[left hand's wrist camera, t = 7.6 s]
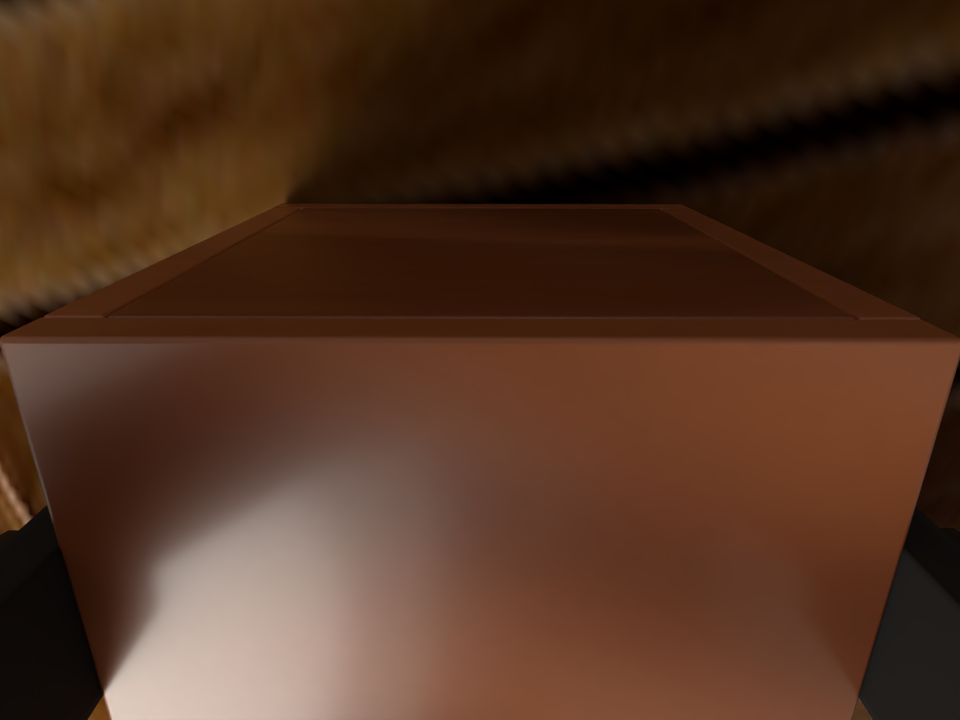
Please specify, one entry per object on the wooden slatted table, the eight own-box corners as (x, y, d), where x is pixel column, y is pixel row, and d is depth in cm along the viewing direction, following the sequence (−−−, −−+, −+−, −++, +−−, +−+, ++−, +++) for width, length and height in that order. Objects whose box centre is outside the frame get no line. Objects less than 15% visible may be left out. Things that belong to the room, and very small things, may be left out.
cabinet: (625, 701, 25) (729, 1135, 14) (336, 700, 25) (228, 1133, 14) (682, 204, 18) (970, 339, 7) (280, 203, 18) (-7, 336, 7)
